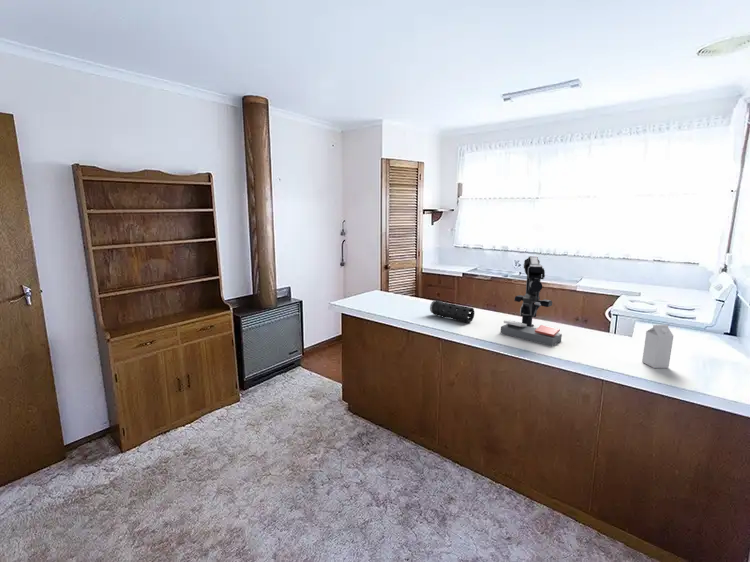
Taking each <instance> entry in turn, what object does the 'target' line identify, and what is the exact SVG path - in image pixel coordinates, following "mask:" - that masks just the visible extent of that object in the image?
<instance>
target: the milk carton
mask: <svg viewBox="0 0 750 562" xmlns="http://www.w3.org/2000/svg"><path fill="white" fill-rule="evenodd" d="M652 326H653V327H652V328H650V329H648V330H646V331H645V340H644V345H643V346H644V347H643V353H642V360H641V362H642V363H643V364H645V365H646V366H649V367H651V368H654V369H668V368H669V366H670V360H671V355H672V350H673V349H672V347H673V343H674V342H673V341H674V334H673V332H672V331H671V329H670V328H669V324H654V325H652Z"/></svg>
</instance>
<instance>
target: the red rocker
mask: <svg viewBox="0 0 750 562" xmlns="http://www.w3.org/2000/svg"><path fill="white" fill-rule="evenodd" d="M560 329H561V328H558V327H557V328H556V327H552V326H549V325H548V326H547V325H543V324H540V325H539V326H538V327H537V329H536V330H535V332H536V333H540V334H544V335H549V336H553V337H554V336H555V335H556V334H557V333H560Z"/></svg>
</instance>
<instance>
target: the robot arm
mask: <svg viewBox="0 0 750 562" xmlns="http://www.w3.org/2000/svg"><path fill="white" fill-rule="evenodd" d="M540 262H541V261H540V260H539V256H537V255H535V256H534V255H530V256H528V258H526V259H524V261H523V269H524V273H525V275H526V283H525V294H524V295H521V294H519V295H518V294H517V295H515V296H514V302H517V303H520V302H522V305H521V306H520V309H519V315H520V317H522V318H521V323H524V324H527V326H529V327H534V326H535V325H534V324H533V318H536V317H537V312H538V310H539V308H540V307H543V308H544V307H545V308H550V307H552V306H553V301H552V300H551V299H545V298H544V299H542V300H541V298H540V292H541V291H542V289H543V284H542V281H541V280H544V279H545V277H546V274H545V273H546V272H545V271H546V270H545V268H544V267H543V265H542V264H540Z"/></svg>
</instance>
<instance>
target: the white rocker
mask: <svg viewBox="0 0 750 562" xmlns="http://www.w3.org/2000/svg"><path fill="white" fill-rule="evenodd" d="M503 324H511V325H515V326H520V327H523V326H527V324H524V323H522V322H520V321H515V320H503Z"/></svg>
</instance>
